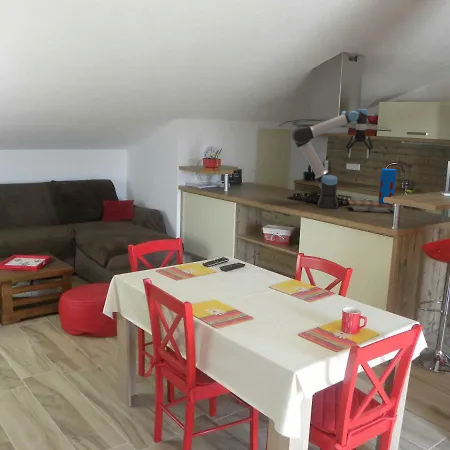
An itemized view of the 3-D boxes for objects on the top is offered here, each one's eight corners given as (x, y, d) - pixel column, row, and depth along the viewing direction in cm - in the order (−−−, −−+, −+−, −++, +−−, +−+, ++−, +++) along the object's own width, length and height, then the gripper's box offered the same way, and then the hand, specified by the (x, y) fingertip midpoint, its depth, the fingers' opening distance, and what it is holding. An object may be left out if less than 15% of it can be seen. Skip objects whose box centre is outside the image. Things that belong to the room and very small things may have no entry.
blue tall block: (383, 204, 367) (386, 170, 362) (375, 202, 377) (378, 168, 372) (396, 204, 370) (399, 170, 364) (387, 201, 380) (391, 168, 374)
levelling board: (350, 205, 369) (350, 201, 368) (347, 201, 384) (348, 197, 383) (395, 207, 365) (396, 203, 365) (390, 203, 381) (391, 199, 380)
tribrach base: (354, 211, 370) (354, 205, 369) (351, 207, 384) (351, 202, 383) (390, 212, 368) (391, 207, 367) (386, 209, 381) (387, 204, 380)
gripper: (376, 130, 387) (374, 157, 391) (343, 128, 389) (341, 156, 394) (378, 130, 379) (375, 158, 384) (344, 129, 382) (342, 157, 387)
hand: (358, 157), depth 389 cm, fingers open, 13 cm apart
